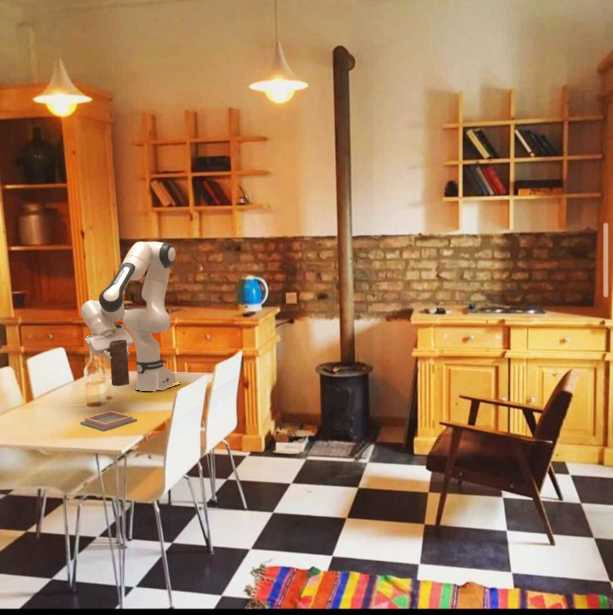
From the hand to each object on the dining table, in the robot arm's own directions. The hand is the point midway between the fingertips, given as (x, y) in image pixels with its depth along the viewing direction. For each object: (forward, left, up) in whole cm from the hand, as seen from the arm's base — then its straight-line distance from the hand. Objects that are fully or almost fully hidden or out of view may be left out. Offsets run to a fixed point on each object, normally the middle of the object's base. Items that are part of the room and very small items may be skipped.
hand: (119, 357), depth 295 cm
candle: (0, -1, -13) cm, 13 cm away
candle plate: (+13, +8, -24) cm, 29 cm away
